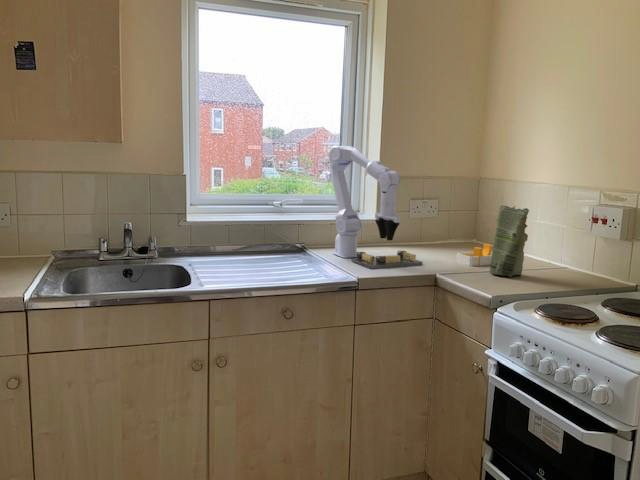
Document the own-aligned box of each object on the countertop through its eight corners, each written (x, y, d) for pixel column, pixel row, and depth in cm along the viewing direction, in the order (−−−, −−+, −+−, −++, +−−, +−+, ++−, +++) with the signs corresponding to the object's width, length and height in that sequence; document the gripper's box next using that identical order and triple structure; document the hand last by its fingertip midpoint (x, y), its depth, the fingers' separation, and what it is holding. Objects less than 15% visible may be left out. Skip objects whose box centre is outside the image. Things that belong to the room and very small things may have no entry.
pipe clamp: (480, 259, 231) (481, 243, 230) (490, 260, 229) (491, 244, 228) (468, 263, 222) (469, 247, 221) (479, 265, 219) (480, 248, 218)
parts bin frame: (455, 261, 225) (456, 253, 225) (488, 259, 233) (488, 250, 232) (470, 266, 218) (471, 257, 217) (503, 263, 225) (504, 254, 224)
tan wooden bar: (354, 257, 220) (354, 252, 219) (362, 257, 221) (362, 251, 221) (367, 262, 211) (367, 256, 211) (376, 261, 213) (376, 256, 212)
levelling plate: (351, 261, 220) (351, 255, 219) (401, 258, 230) (401, 252, 229) (370, 268, 207) (370, 263, 207) (422, 264, 217) (422, 259, 217)
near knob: (379, 263, 209) (379, 257, 209) (374, 261, 213) (374, 256, 212) (401, 262, 214) (402, 256, 213) (396, 260, 217) (396, 254, 217)
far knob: (395, 256, 225) (395, 250, 225) (403, 255, 227) (403, 250, 226) (409, 261, 216) (410, 255, 216) (417, 260, 218) (417, 254, 218)
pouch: (491, 270, 211) (496, 203, 207) (525, 274, 207) (531, 205, 203) (487, 276, 201) (493, 205, 197) (523, 280, 197) (530, 208, 193)
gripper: (369, 201, 219) (367, 236, 221) (389, 205, 206) (387, 242, 208) (384, 201, 222) (382, 235, 224) (406, 205, 209) (404, 241, 211)
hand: (386, 239), depth 216 cm, fingers open, 4 cm apart
